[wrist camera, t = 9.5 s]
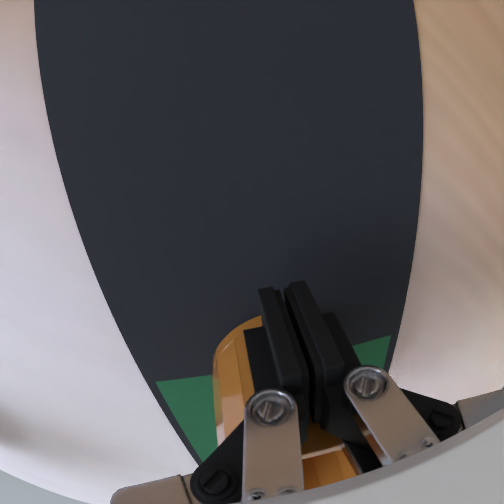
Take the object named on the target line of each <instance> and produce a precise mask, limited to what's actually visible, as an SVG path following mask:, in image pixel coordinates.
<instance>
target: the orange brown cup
mask: <svg viewBox="0 0 504 504" xmlns="http://www.w3.org/2000/svg"><path fill="white" fill-rule="evenodd" d="M261 326H262V320H261V315H260V316H257V317H255V318H252V319H250V320H248V321H246V322H244V323H243V324H241V325H239V326H238V327H236V328H235V329H234V330H232V331H231V332H230V333H229V334H228V335H227V336H226V337H225V338H224V339H223V340H222V341H221V343H220V344H219V346H218V347H217V349H216V351H215V354H214V357H213V362H212V363H213V373H212V383H213V396H214V408H215V419H216V430H217V441H218V446H219V445H220V444H221V443H222V442H223V441H224V440H225V439H226V438H227V437H228V436H229V435H230V434H231V432H232V431H233V430H234V429H235V428H236V427H237V426H238V425H239V424H240V423H241V422H242V420H243V419H244V409H245V405H246V402H247V401H248V399H249V397H251V396H252V395H253V394H254V387H253V382H252V377H251V371H250V366H249V361H248V355H247V350H246V344H245V339H244V333H243V330H245V329H251V328H256V327H261ZM301 454H302V466H303V478H304V491H305V490H309V489H313V488H317V487H321V486H325V485H328V484H332V483H336V482H339V481H342V480H346V479H349V478H352V477H355V476H356V474H355V472H354V470H353V469H352V467H351V465H350V463H349V462H348V460H347V458H346V456H345V455H344V453H343V451H342V449H341V447H340V446H339V444H338V442H337V439H336V436H333V435H331V434H329V433H327V431H326V429H323V430H321V428H320V425H319V422H318V423H313V422H312V419H311V416H310V413H309V425H308V438H307V440H306V441H305V443H304V444H303V445H302V447H301Z"/></svg>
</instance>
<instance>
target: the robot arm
mask: <svg viewBox="0 0 504 504" xmlns="http://www.w3.org/2000/svg"><path fill="white" fill-rule="evenodd" d="M257 292H258V299H259V306H260V313H261V320H262V326H261V327H256V328H251V329H245V330H243V333H244V339H245V344H246V350H247V355H248V361H249V366H250V371H251V377H252V382H253V387H254V394H253V395H252V396H251V397H249V399H248V401H247V402H246V405H245V409H244V419H243V420H242V422H241V423H240V424H239V425H238V426H237V427H236V428H235V429H234V430H233V431H232V432H231V434H230V435H229V436H228V437H227V438H226V439H225V440H224V441H223V442H222V443H221V444H220V445H219V446H218V447H217V448H216V449H215V450H214V451H213V453H212V454H211V455H210V456H209V457H208V458H207V459H206V460H205V461H204V462H203V463H202V464H201V465H200V466H199V467H198V468H197V469H196V470H195V471H194V473H192V474H188V475H185V476H181V475H180V474H179V475H176V476H172V477H168V478H164V479H160V480H156V481H152V482H147V483H143V484H138V485H133V486H129V487H124V488H122V489H119V490H117V491H116V492H115V493H114V494H113V496H112V498H111V500H110V504H504V390H497V391H494V392H490V393H487V394H483V395H479V396H475V397H472V398H467V399H463V400H459V401H457V402H456V403H455V404H453V405H451V404H449V403H447V402H443V401H440V400H437V399H433V398H430V397H427V396H423V395H420V394H417V393H414V392H411V391H408V390H404V389H401V388H399V387H398V386H397V384H396V383H395V382H394V381H393V379H392V378H391V377H390V376H389V374H388V373H387V372H386V371H385V370H383V369H382V368H380V367H377V366H373V365H361V363H360V361H359V359H358V357H357V355H356V353H355V351H354V349H353V347H352V345H351V343H350V341H349V339H348V337H347V335H346V334H345V332H344V330H343V328H342V326H341V324H340V322H339V320H338V318H337V317H336V315H335V313H334V312H328V313H323V314H321V312H320V310H319V308H318V306H317V304H316V302H315V300H314V298H313V296H312V294H311V292H310V290H309V288H308V286H307V284H306V282H305V280H302V281H297V282H292V283H289V287H288V288H284V300H285V303H284V300H283V297H282V294H281V292H280V289H278V290H274V288H273V286H271V287H266V288H261V289H257ZM309 413H310V416H311V419H312V422H313V423H318V422H319V425H320V428H321V430H323V429H326V431H327V433H329V434H331V435H333V436H336V439H337V442H338V444H339V446H340V447H341V449H342V451H343V453H344V455H345V456H346V458H347V460H348V462H349V463H350V465H351V467H352V469H353V470H354V472H355V474H356V476H355V477H352V478H349V479H346V480H342V481H339V482H336V483H332V484H328V485H325V486H321V487H317V488H313V489H309V490H305V491H304V478H303V466H302V454H301V447H302V445H303V444H304V443H305V441H306V440H307V438H308V425H309Z"/></svg>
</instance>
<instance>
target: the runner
mask: <svg viewBox="0 0 504 504" xmlns="http://www.w3.org/2000/svg"><path fill="white" fill-rule="evenodd" d="M34 10H35V27H36V40H37V50H38V59H39V67H40V74H41V81H42V87H43V94H44V99H45V105H46V110H47V115H48V120H49V125H50V130H51V134H52V139H53V143H54V147H55V152H56V156H57V160H58V163H59V167H60V171H61V175H62V178H63V182H64V185H65V189H66V192H67V195H68V199H69V202H70V205H71V208H72V212H73V215H74V218H75V221H76V224H77V227H78V230H79V232H80V235H81V238H82V241H83V244H84V246H85V249H86V252H87V255H88V257H89V260H90V262H91V265H92V268H93V270H94V273H95V275H96V278H97V280H98V283H99V285H100V287H101V290H102V292H103V294H104V297H105V299H106V301H107V304H108V306H109V308H110V310H111V313H112V315H113V317H114V319H115V321H116V323H117V326H118V328H119V330H120V332H121V334H122V336H123V338H124V340H125V342H126V344H127V346H128V348H129V350H130V352H131V354H132V356H133V358H134V360H135V362H136V364H137V366H138V368H139V369H140V371H141V373H142V375H143V377H144V379H145V381H146V382H147V384H148V386H149V388H150V389H151V391H152V393H153V395H154V396H155V398H156V400H157V402H158V403H159V405H160V407H161V408H162V410H163V412H164V413H165V415H166V417H167V418H168V420H169V422H170V423H171V425H172V426H173V428H174V430H175V431H176V433H177V434H178V436H179V437H180V439H181V440H182V442H183V443H184V445H185V446H186V448H187V449H188V451H189V452H190V454H191V455H192V457H193V458H194V460H195V461H196V463H197V464H198V465H199V466H200V465H201V464H202V463H203V462H204V461H205V460H206V459H207V458H208V457H209V456H210V455H211V454H212V453H213V451H214V450H215V449H216V448H217V447H218V441H217V430H216V419H215V408H214V396H213V383H212V373H213V363H212V362H213V357H214V354H215V351H216V349H217V347H218V346H219V344H220V343H221V341H222V340H223V339H224V338H225V337H226V336H227V335H228V334H229V333H230V332H231V331H232V330H234V329H235V328H236V327H238V326H239V325H241V324H243V323H244V322H246V321H248V320H250V319H252V318H255V317H257V316H260V315H261V313H260V306H259V299H258V292H257V289H261V288H266V287H271V286H273V288H274V290H278V289H280V292H281V294H282V297H283V300H284V288H288V287H289V283H292V282H297V281H302V280H305V282H306V284H307V286H308V288H309V290H310V292H311V294H312V296H313V298H314V300H315V302H316V304H317V306H318V308H319V310H320V312H321V314H323V313H328V312H334V313H335V315H336V317H337V318H338V320H339V322H340V324H341V326H342V328H343V330H344V332H345V334H346V335H347V337H348V339H349V341H350V343H351V345H352V347H353V349H354V351H355V353H356V355H357V357H358V359H359V361H360V363H361V365H373V366H377V367H380V368H382V369H383V370H385V371H386V372H387V373H388V372H389V368H390V365H391V361H392V357H393V353H394V349H395V345H396V341H397V337H398V333H399V329H400V324H401V320H402V315H403V311H404V306H405V301H406V296H407V290H408V285H409V279H410V273H411V267H412V261H413V254H414V247H415V240H416V232H417V223H418V214H419V203H420V191H421V176H422V155H423V96H422V75H421V61H420V50H419V40H418V32H417V24H416V17H415V10H414V4H413V0H34ZM284 303H285V300H284Z"/></svg>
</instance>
